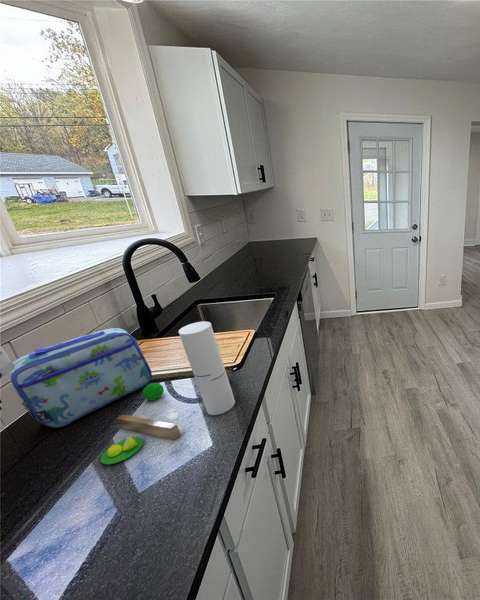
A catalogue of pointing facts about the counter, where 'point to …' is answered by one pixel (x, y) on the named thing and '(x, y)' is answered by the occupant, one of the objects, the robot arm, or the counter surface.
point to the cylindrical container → (207, 367)
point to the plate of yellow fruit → (121, 450)
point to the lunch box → (79, 376)
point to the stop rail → (149, 426)
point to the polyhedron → (153, 391)
